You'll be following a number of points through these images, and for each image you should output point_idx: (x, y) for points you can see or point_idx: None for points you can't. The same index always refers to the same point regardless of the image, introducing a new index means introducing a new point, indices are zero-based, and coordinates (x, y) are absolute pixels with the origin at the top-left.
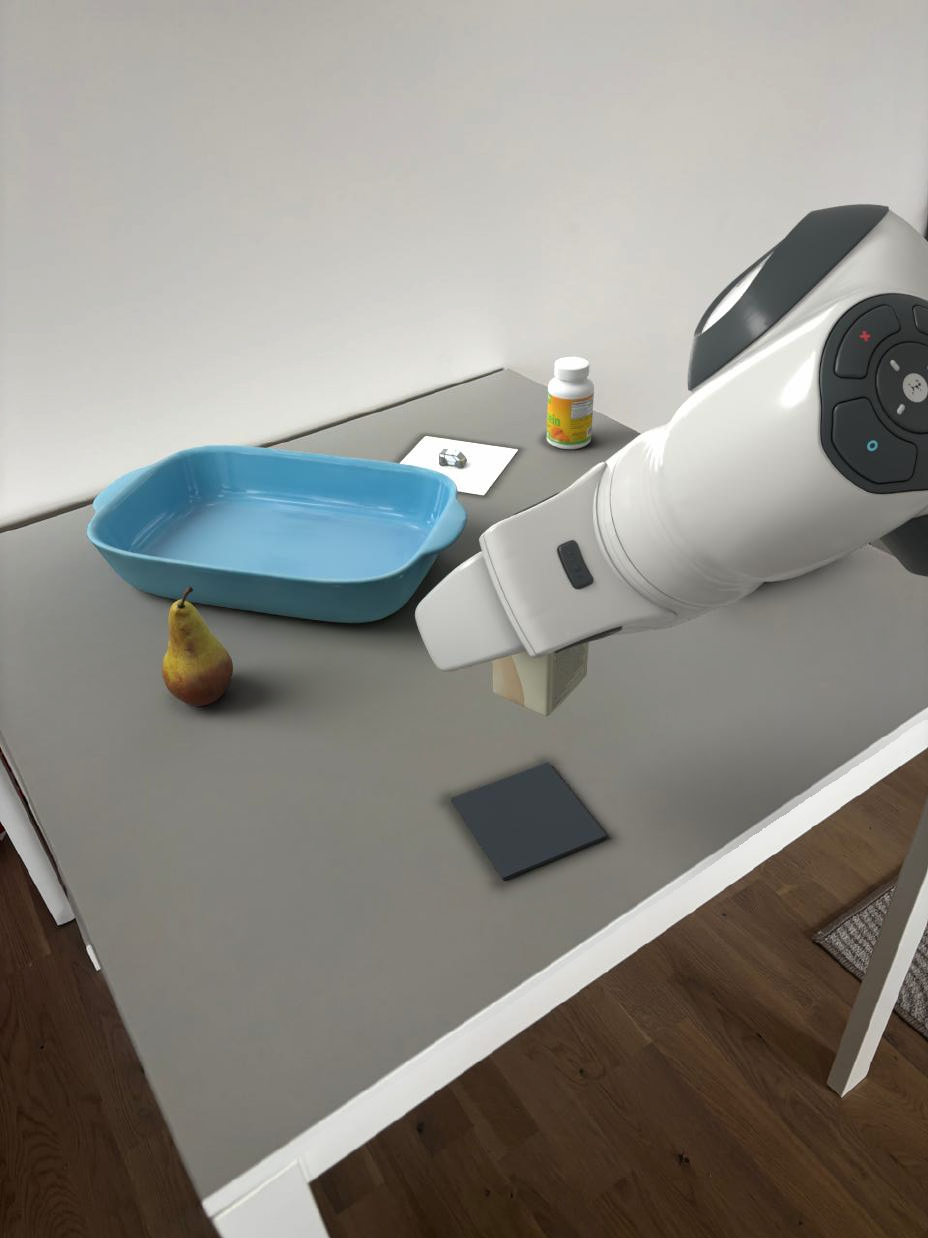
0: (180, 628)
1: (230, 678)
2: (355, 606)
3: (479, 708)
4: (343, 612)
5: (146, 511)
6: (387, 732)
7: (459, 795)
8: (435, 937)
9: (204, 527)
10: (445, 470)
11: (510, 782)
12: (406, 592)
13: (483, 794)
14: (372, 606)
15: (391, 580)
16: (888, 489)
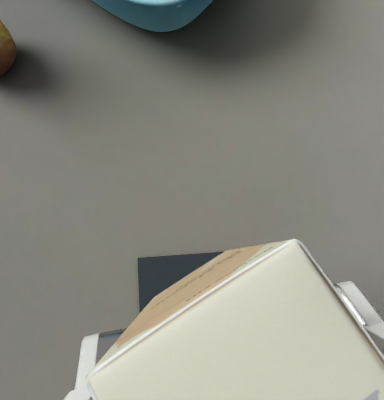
0: None
1: (7, 63)
2: (134, 19)
3: (202, 166)
4: (126, 19)
5: None
6: (121, 163)
7: (145, 258)
8: (72, 386)
9: None
10: None
11: (189, 261)
12: (187, 17)
13: (163, 265)
14: (150, 24)
15: (166, 8)
16: None
